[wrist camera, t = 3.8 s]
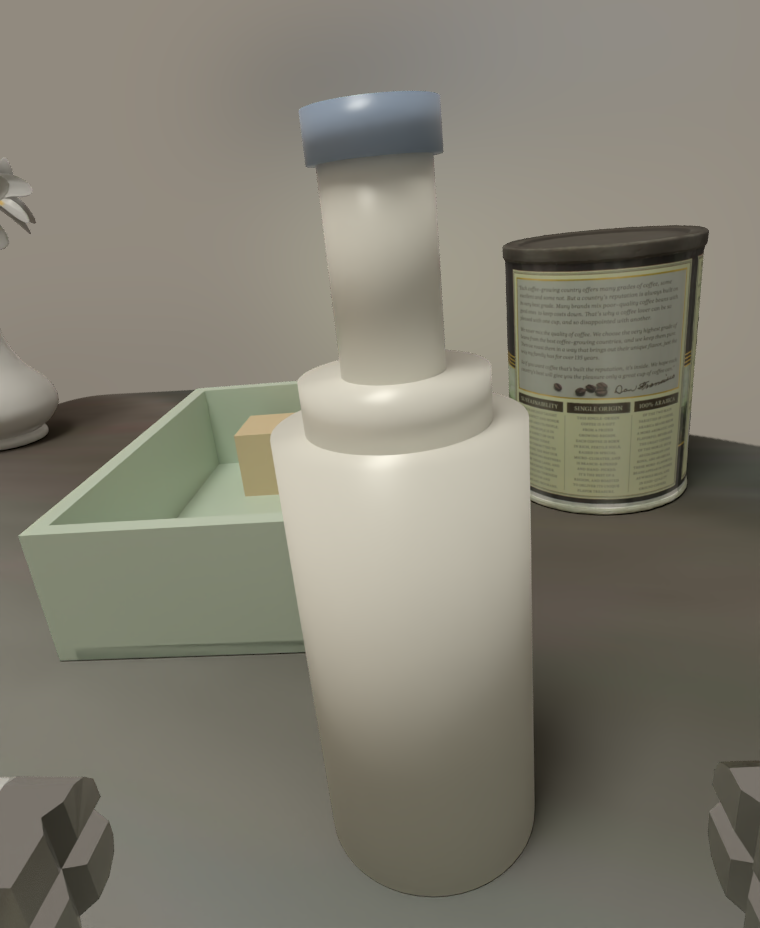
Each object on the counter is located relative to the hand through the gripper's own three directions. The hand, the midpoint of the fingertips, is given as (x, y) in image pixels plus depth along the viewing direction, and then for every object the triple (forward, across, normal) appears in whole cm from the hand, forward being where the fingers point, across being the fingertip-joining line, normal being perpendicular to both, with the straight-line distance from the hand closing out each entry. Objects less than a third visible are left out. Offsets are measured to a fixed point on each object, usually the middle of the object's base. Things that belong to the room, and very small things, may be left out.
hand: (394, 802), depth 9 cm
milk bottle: (+8, 0, +10) cm, 13 cm away
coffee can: (+31, -10, +10) cm, 34 cm away
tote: (+26, +8, +9) cm, 29 cm away
